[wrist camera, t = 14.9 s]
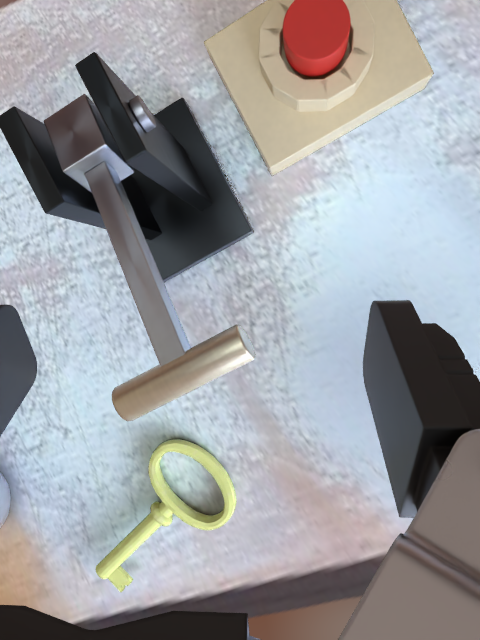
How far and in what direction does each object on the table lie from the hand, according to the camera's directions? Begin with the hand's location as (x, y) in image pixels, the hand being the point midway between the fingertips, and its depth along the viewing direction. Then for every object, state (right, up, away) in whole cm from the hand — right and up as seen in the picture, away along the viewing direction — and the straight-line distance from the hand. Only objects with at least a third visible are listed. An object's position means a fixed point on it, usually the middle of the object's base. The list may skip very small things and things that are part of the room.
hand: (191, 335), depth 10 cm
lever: (-3, +3, +9) cm, 10 cm away
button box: (+6, +17, +19) cm, 26 cm away
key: (-4, -14, +24) cm, 28 cm away
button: (+5, +16, +16) cm, 23 cm away
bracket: (-4, +9, +21) cm, 23 cm away
